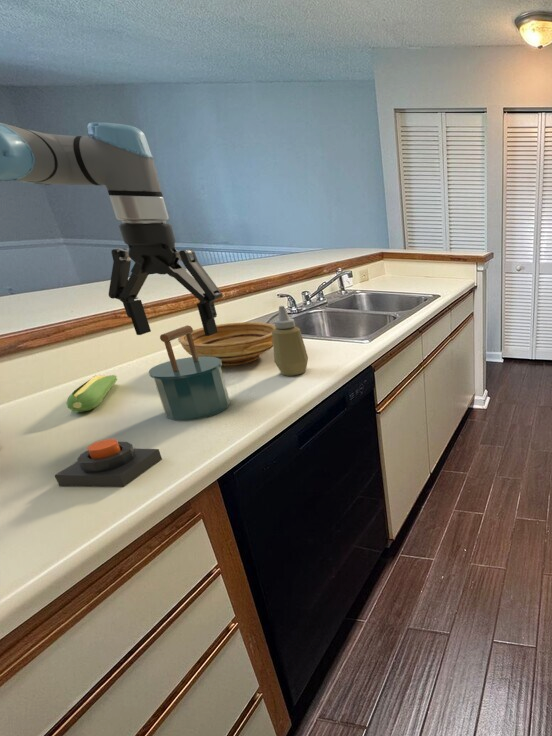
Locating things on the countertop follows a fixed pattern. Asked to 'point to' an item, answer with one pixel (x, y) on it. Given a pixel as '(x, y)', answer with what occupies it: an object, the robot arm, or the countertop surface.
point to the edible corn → (91, 393)
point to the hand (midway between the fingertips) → (178, 333)
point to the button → (103, 448)
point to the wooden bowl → (232, 342)
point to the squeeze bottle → (288, 346)
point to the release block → (109, 468)
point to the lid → (183, 359)
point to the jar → (193, 396)
